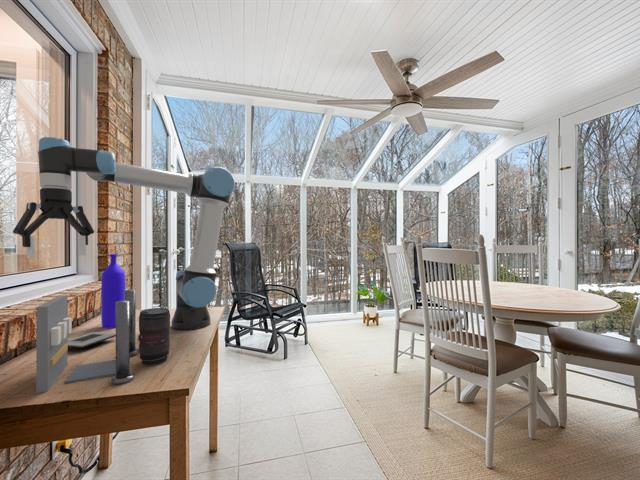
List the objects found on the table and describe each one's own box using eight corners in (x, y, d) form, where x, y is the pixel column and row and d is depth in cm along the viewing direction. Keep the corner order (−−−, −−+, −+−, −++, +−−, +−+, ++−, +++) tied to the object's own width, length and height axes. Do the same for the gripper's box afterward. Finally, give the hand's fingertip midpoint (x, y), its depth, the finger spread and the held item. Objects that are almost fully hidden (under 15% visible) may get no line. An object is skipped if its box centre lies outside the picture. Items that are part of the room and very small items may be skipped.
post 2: (139, 350, 98) (139, 288, 98) (138, 355, 93) (138, 290, 93) (121, 353, 95) (121, 289, 96) (119, 358, 91) (119, 292, 91)
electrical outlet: (81, 352, 95) (81, 344, 95) (55, 350, 98) (55, 342, 98) (117, 339, 108) (117, 332, 108) (93, 337, 110) (93, 331, 110)
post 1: (135, 374, 80) (135, 298, 80) (133, 382, 76) (133, 302, 76) (112, 378, 78) (112, 300, 78) (109, 386, 73) (109, 304, 73)
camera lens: (148, 369, 83) (148, 314, 83) (133, 363, 88) (133, 311, 88) (175, 359, 90) (175, 309, 90) (160, 354, 94) (160, 306, 94)
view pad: (122, 360, 90) (122, 358, 90) (117, 374, 80) (117, 372, 80) (75, 367, 85) (75, 365, 85) (64, 383, 75) (64, 381, 75)
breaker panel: (73, 364, 87) (73, 294, 87) (55, 390, 72) (55, 305, 72) (58, 366, 85) (58, 295, 85) (36, 393, 70) (36, 307, 70)
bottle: (112, 322, 131) (112, 253, 131) (130, 323, 130) (130, 253, 130) (96, 328, 123) (96, 254, 123) (114, 328, 122) (114, 254, 122)
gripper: (91, 194, 107) (93, 254, 108) (-5, 183, 84) (-3, 259, 85) (105, 193, 105) (107, 254, 105) (9, 181, 82) (12, 260, 82)
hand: (58, 256), depth 95 cm, fingers open, 13 cm apart
